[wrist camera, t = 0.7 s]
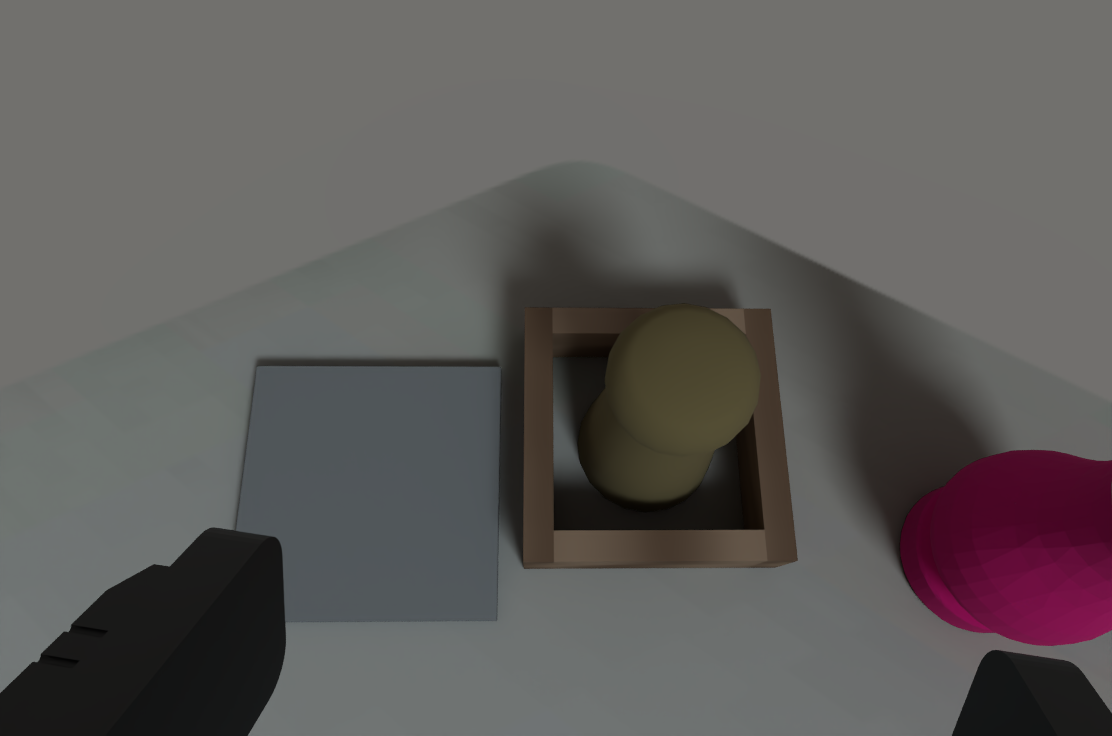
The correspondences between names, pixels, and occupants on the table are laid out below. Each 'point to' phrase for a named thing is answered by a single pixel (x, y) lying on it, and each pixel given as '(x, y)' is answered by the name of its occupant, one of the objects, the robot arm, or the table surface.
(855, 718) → the table surface
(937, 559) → the pepper mill
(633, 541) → the walnut collar
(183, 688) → the robot arm
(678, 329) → the cork
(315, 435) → the rubber mat
